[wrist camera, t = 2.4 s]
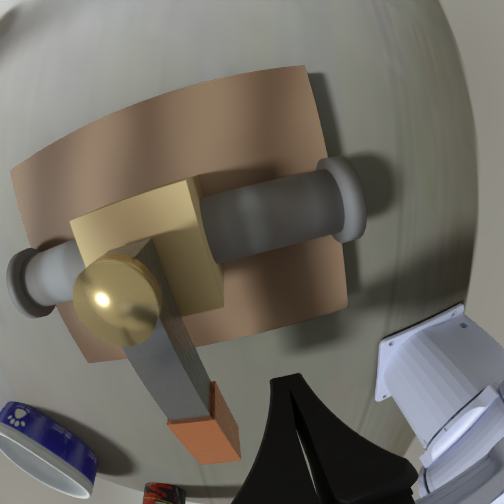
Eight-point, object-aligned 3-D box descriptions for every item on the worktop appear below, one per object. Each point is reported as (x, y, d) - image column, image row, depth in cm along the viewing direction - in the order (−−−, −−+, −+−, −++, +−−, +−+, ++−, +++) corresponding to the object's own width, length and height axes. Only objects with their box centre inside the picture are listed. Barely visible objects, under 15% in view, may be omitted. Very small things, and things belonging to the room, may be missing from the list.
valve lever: (98, 244, 9) (58, 275, 6) (160, 224, 9) (135, 252, 6) (197, 432, 13) (196, 474, 10) (242, 426, 13) (247, 469, 10)
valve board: (297, 73, 13) (332, 35, 8) (339, 296, 17) (376, 345, 12) (23, 168, 13) (-33, 178, 7) (95, 350, 17) (68, 401, 12)
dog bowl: (36, 451, 23) (26, 476, 18) (-12, 387, 19) (-31, 415, 13) (114, 476, 25) (108, 508, 19) (70, 417, 20) (54, 458, 14)
